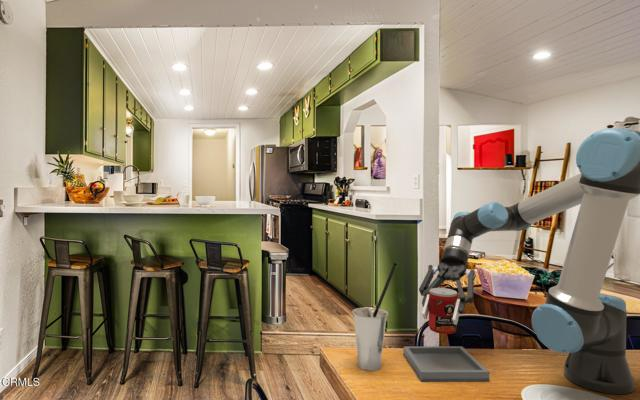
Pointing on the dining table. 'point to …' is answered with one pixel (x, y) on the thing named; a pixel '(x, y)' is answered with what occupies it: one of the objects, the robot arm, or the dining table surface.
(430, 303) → the canned food
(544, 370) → the dining table surface
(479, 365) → the tray
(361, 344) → the glass
